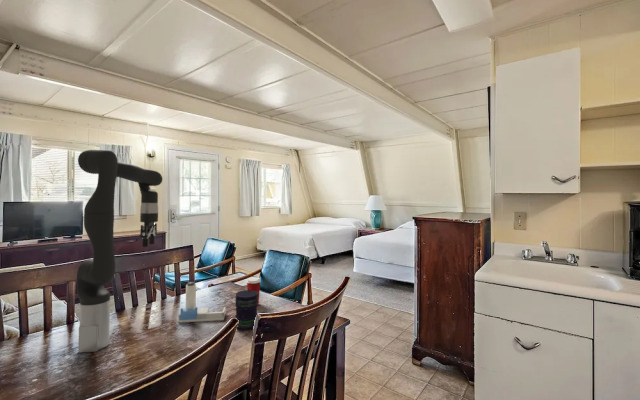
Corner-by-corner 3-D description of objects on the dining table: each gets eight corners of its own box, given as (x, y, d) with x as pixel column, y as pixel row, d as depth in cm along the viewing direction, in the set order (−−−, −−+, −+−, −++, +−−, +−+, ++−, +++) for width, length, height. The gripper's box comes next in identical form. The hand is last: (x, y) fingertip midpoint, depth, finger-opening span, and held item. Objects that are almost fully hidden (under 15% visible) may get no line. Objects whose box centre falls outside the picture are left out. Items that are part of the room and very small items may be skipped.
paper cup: (262, 302, 165) (262, 277, 165) (257, 307, 158) (258, 281, 158) (248, 302, 166) (249, 276, 166) (243, 306, 158) (244, 280, 158)
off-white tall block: (194, 317, 140) (195, 283, 140) (183, 318, 139) (184, 284, 139) (196, 314, 145) (197, 281, 145) (186, 314, 144) (186, 281, 144)
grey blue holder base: (223, 319, 141) (223, 306, 141) (178, 322, 137) (178, 309, 137) (225, 313, 149) (225, 301, 149) (183, 315, 145) (183, 303, 145)
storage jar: (251, 332, 128) (252, 297, 128) (230, 330, 130) (231, 296, 130) (260, 323, 138) (261, 291, 138) (241, 321, 140) (241, 289, 140)
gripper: (152, 212, 139) (151, 247, 138) (162, 211, 153) (162, 243, 152) (134, 212, 137) (134, 247, 137) (146, 211, 151) (146, 243, 151)
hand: (148, 245), depth 145 cm, fingers open, 8 cm apart
